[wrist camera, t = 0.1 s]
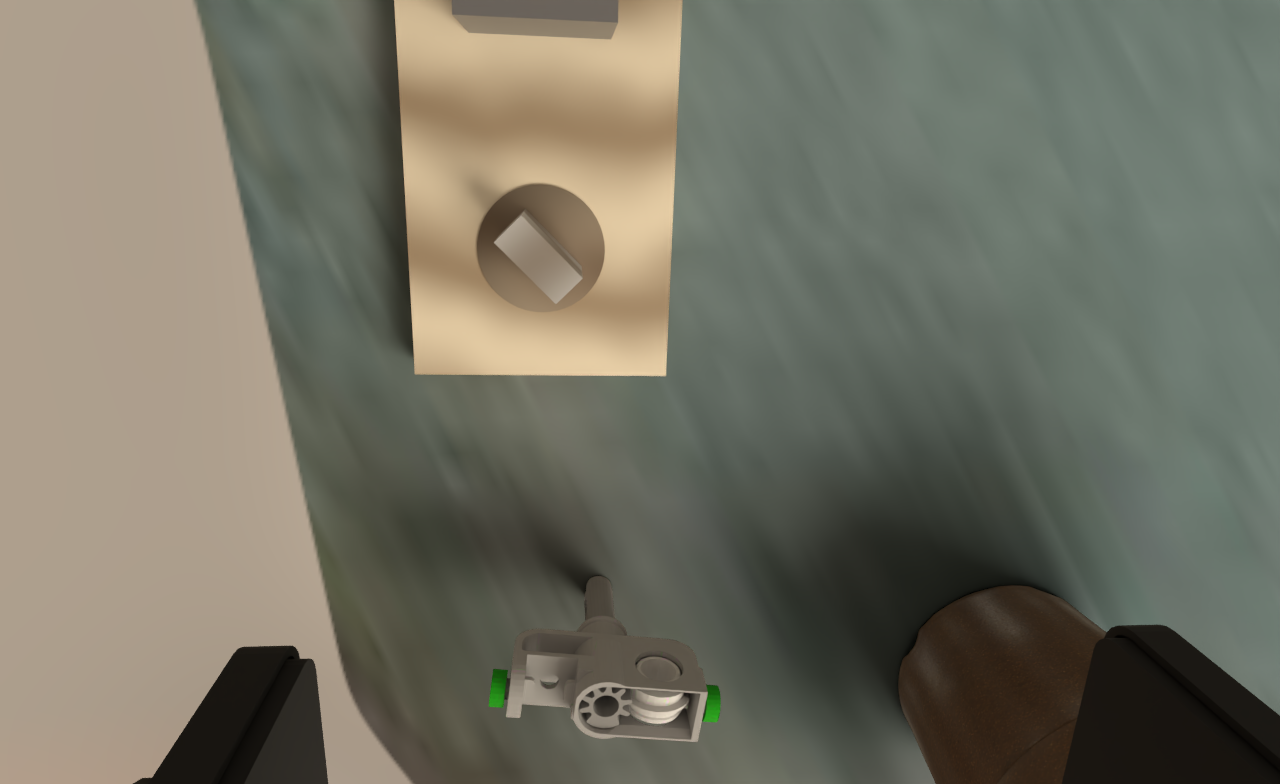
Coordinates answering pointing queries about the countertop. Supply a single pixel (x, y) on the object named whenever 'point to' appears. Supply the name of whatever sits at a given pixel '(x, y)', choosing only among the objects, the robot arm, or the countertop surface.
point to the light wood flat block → (539, 193)
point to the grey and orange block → (539, 17)
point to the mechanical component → (609, 677)
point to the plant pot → (998, 686)
